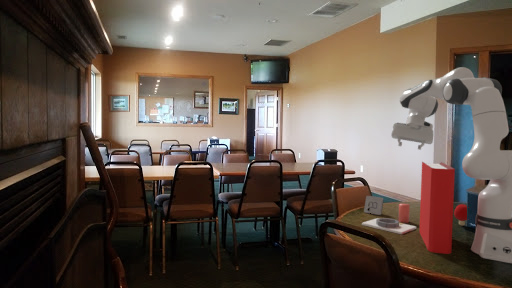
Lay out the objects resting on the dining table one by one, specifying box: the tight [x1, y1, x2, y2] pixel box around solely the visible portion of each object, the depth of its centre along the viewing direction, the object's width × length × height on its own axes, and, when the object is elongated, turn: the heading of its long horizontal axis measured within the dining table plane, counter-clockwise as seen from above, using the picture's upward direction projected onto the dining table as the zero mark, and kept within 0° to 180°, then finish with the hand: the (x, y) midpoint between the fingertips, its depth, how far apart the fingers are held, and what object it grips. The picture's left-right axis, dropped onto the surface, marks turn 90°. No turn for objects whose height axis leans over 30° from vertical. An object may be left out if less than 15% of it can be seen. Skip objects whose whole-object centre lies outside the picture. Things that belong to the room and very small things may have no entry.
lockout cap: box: [397, 203, 411, 224], centre depth 187 cm, size 5×5×8 cm
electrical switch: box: [363, 195, 384, 216], centre depth 204 cm, size 9×5×9 cm, turn 49°
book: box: [419, 161, 456, 255], centre depth 154 cm, size 27×8×32 cm, turn 163°
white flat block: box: [361, 217, 417, 235], centre depth 177 cm, size 20×14×3 cm
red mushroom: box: [453, 203, 468, 227], centre depth 180 cm, size 9×7×10 cm
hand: (409, 147), depth 194 cm, fingers open, 8 cm apart
